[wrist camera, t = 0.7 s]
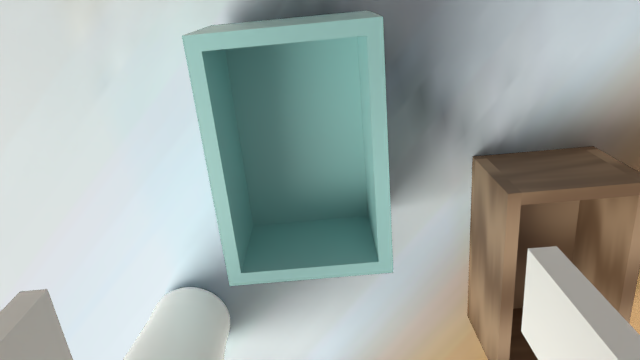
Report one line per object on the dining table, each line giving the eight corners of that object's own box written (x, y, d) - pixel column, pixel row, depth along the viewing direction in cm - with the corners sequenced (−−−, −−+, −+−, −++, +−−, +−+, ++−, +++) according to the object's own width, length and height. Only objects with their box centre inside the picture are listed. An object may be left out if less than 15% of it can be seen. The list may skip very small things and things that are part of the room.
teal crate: (215, 23, 27) (182, 35, 20) (365, 9, 27) (382, 16, 20) (247, 222, 31) (229, 286, 25) (376, 211, 31) (393, 272, 24)
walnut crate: (471, 155, 30) (508, 194, 24) (591, 145, 30) (655, 181, 24) (466, 314, 34) (496, 376, 29) (570, 305, 34) (620, 367, 29)
